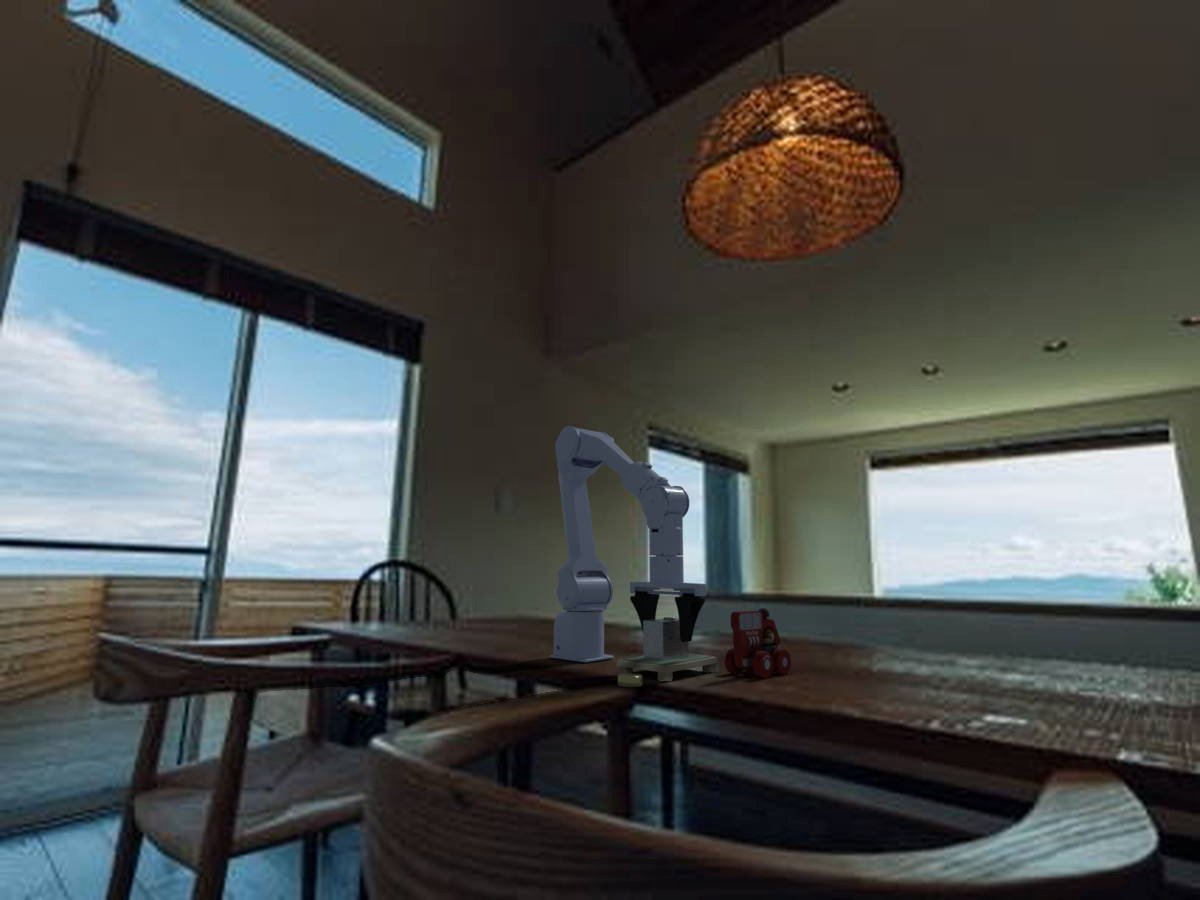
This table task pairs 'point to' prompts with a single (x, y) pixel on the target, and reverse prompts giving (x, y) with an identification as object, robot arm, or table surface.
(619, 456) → the robot arm
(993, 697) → the table surface
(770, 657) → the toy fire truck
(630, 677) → the brass nut
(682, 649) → the housing
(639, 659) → the stand
